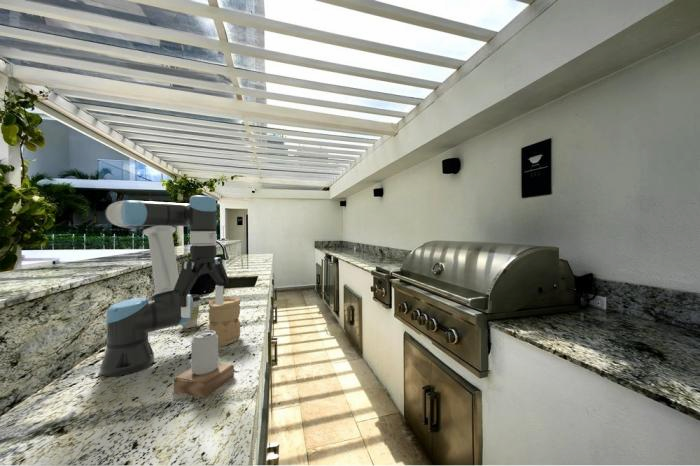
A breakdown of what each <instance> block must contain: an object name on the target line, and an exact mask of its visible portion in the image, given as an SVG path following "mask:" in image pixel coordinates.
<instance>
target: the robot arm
mask: <svg viewBox="0 0 700 466" xmlns="http://www.w3.org/2000/svg"><path fill="white" fill-rule="evenodd" d="M104 211H105V212H104V213H105V214H104V215H105V218H106V220H107V221H108V222H109V223H110V224H112V225H114V226H117V227H120V228H125V229H142V234H143V235H145V236H147V239H148V245H149V246H148V247H149V252H150V262H151V268H152V276H153V284H154V290H155V291H154V293H153V294H152V295H151V300H149V299H148V298H146V297H136V298H129V299H125V300H122V301H119V302H115V303H114V304H112V305H111V306H108V308H107V310H106V315H105V316H106V317H105V323H106V350H105V352H104V355H103V358H102V361H101V363H100V367H99V372H100V375H102V376H103V377H118V376H125V375H128V374H133V373H135V372H139V371H141V370H143V369H145V368H147V367H149V366H150V365H152V364H153V362H154V361H155V353H154V350H153V348H152V346H151V344H150V341H149V333H151V332H152V333H153V332H156V331H159V330H164V329H168V328H172V327H178V326H180V325H182V324H184V323H187V322H188V321H189V320H190V318H191V316H192V313H193V298H192V296H191V295H192V294H190V292H191V290H192V288H193V286H194V285H195V284H196V282H197V280H198V279H199V277H201V276H202V275H206V274H209V276H210V277H211V278H212V280H213V281H214V282H215V284H216V285H215V286H214V287H215V289H214V290H215V291H214V292H215V294H214V295H215V296H214V297H215V298H214V299H215V305H223V297H224V294H225V286H228V283H229V281H230V279H229V276H228V274H227V271H226V269H225V267H224V264H223V258H222V257H217V254H218V253H217V252H218V251H217V245H216V244H217V211H218V207H217V199H216V198H215V197H213V196H209V195H191V196H190V197H189V203H180V202H179V203H178V202H177V203H176V202H164V201H146V200H145V201H144V200H135V199H132V200H131V199H130V200H128V199H127V200H119V201H115V202H111V204H108V206H107V207H106V209H105V210H104ZM178 227H189V244H190V246H189V257H190V258H191V261H183V262H182V264H181V270H180V272H179V271H178V270H179V268H178V263H177V257H176V250H175V245H174V243H175V242H174V239H173V238H174V236H173V234H174V233H175V232H176V231H177V230H176V229H177V228H178Z"/></svg>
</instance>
